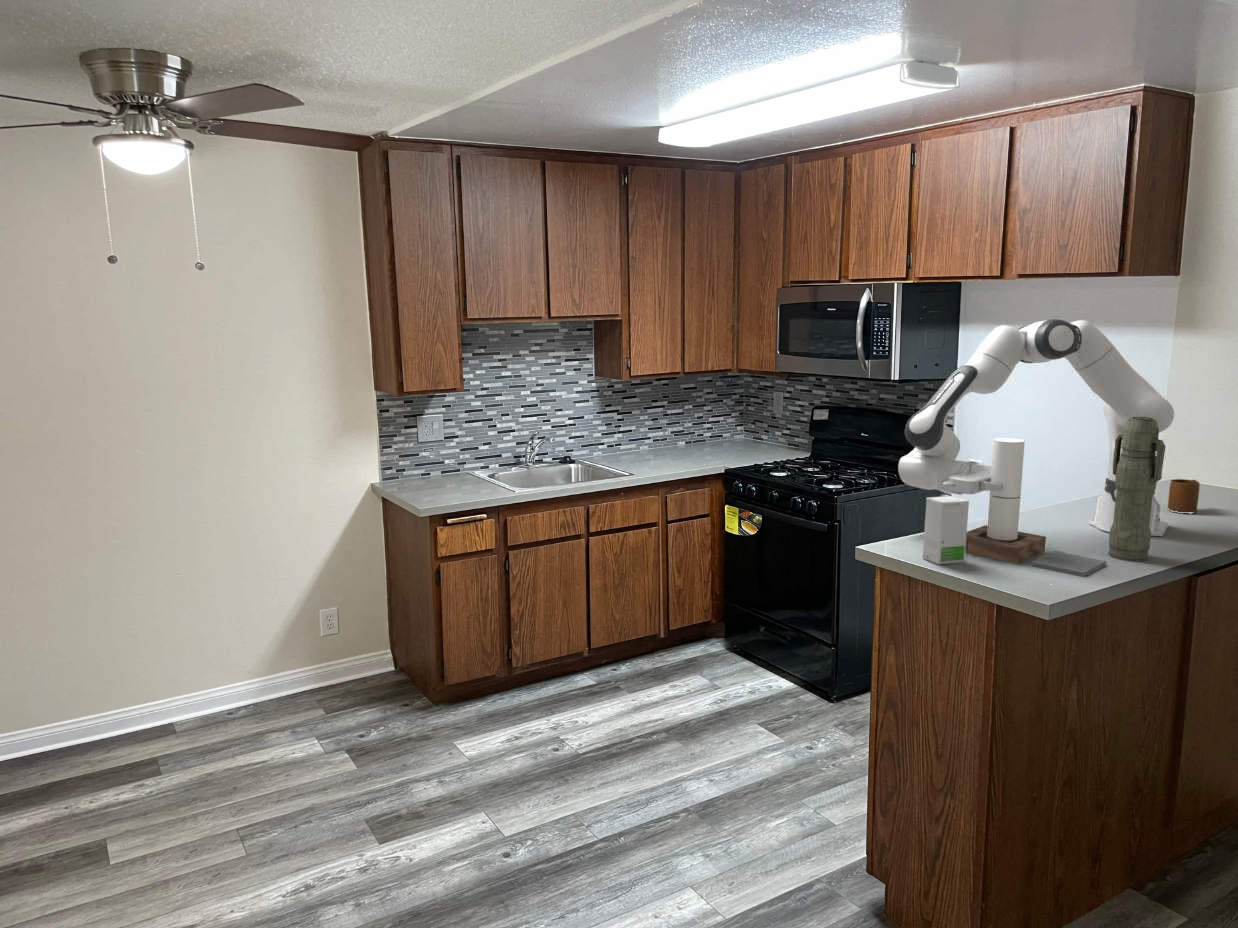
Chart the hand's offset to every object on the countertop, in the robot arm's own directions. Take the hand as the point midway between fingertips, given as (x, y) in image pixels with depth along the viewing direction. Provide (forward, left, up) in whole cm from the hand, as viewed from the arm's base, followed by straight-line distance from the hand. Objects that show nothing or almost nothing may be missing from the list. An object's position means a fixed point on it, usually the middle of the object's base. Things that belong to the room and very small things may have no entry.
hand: (1009, 485), depth 227 cm
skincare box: (+18, -7, -18) cm, 26 cm away
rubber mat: (0, +16, -18) cm, 24 cm away
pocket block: (0, -1, -18) cm, 18 cm away
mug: (-86, +17, -18) cm, 89 cm away
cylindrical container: (0, -1, -14) cm, 14 cm away
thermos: (-19, +23, -18) cm, 35 cm away
